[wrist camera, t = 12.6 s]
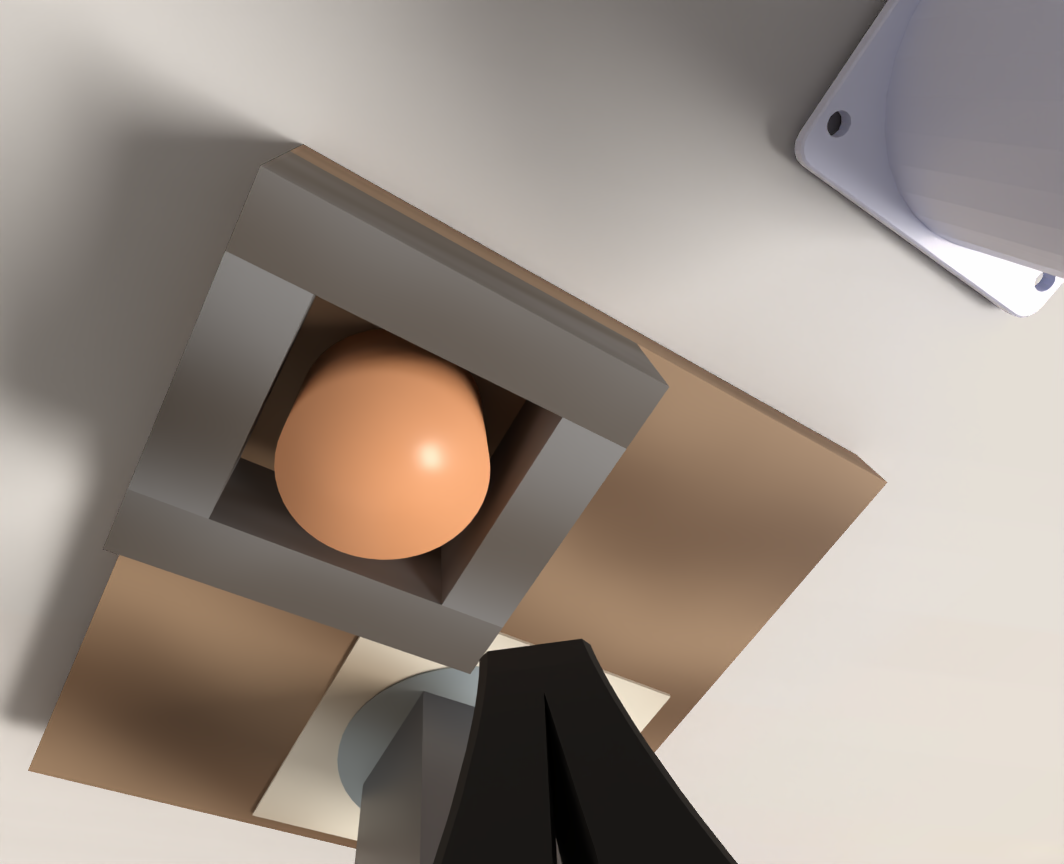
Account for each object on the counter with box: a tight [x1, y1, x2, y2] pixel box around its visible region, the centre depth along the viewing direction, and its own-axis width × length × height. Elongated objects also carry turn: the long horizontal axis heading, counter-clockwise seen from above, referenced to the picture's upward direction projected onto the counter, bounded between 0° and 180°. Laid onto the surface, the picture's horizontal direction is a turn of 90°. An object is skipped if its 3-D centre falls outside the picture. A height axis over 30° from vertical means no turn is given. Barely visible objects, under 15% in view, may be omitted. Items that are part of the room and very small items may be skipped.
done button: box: [274, 329, 490, 560], centre depth 15 cm, size 4×4×3 cm
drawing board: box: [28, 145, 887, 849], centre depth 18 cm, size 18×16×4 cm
